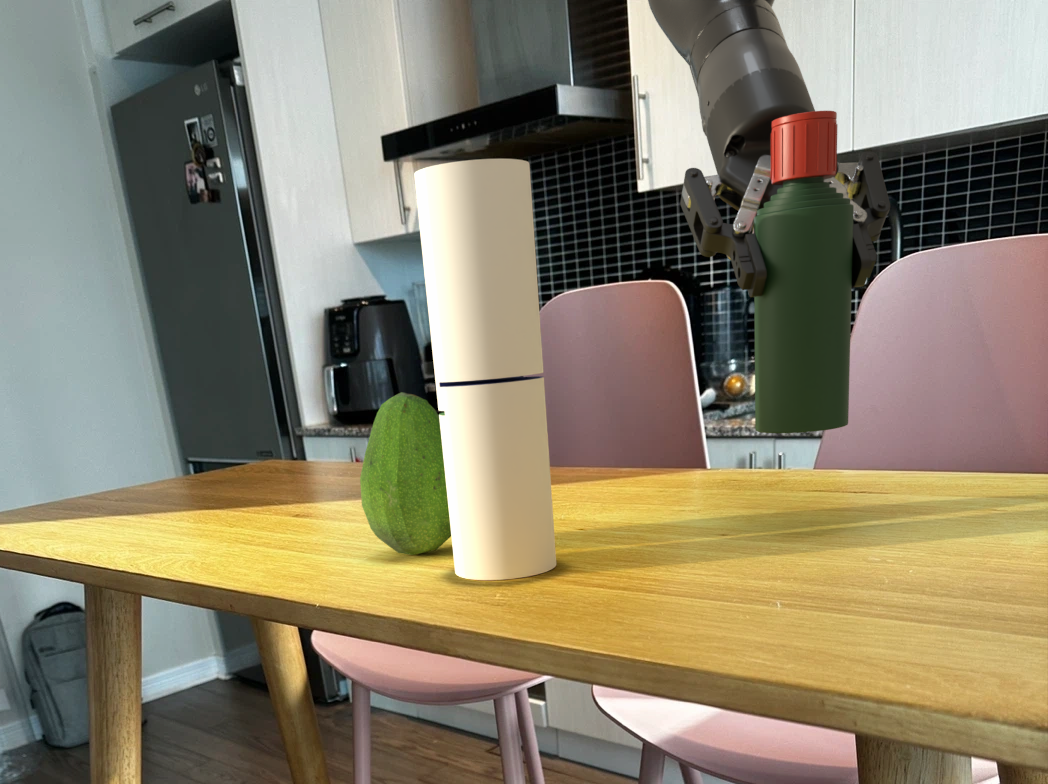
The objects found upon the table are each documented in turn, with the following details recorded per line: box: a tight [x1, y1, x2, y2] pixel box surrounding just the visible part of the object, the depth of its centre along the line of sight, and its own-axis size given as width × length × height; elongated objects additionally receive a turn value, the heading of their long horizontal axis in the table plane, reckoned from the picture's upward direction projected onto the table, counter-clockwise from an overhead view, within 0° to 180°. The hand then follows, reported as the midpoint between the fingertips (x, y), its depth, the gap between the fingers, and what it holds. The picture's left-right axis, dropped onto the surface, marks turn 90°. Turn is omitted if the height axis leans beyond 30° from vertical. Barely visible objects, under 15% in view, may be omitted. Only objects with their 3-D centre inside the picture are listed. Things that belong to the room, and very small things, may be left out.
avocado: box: [359, 391, 452, 556], centre depth 78 cm, size 8×8×12 cm
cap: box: [771, 110, 838, 185], centre depth 67 cm, size 4×4×4 cm
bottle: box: [753, 177, 854, 434], centre depth 70 cm, size 6×6×19 cm
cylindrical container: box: [413, 158, 557, 581], centre depth 68 cm, size 7×7×25 cm
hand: (811, 281), depth 69 cm, fingers closed on bottle, 6 cm apart
